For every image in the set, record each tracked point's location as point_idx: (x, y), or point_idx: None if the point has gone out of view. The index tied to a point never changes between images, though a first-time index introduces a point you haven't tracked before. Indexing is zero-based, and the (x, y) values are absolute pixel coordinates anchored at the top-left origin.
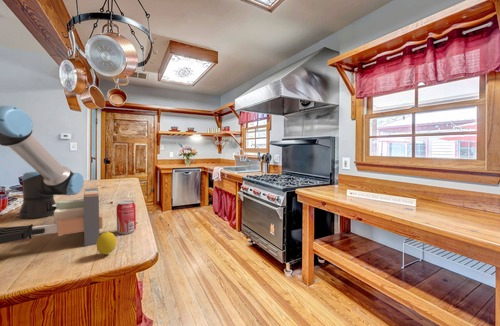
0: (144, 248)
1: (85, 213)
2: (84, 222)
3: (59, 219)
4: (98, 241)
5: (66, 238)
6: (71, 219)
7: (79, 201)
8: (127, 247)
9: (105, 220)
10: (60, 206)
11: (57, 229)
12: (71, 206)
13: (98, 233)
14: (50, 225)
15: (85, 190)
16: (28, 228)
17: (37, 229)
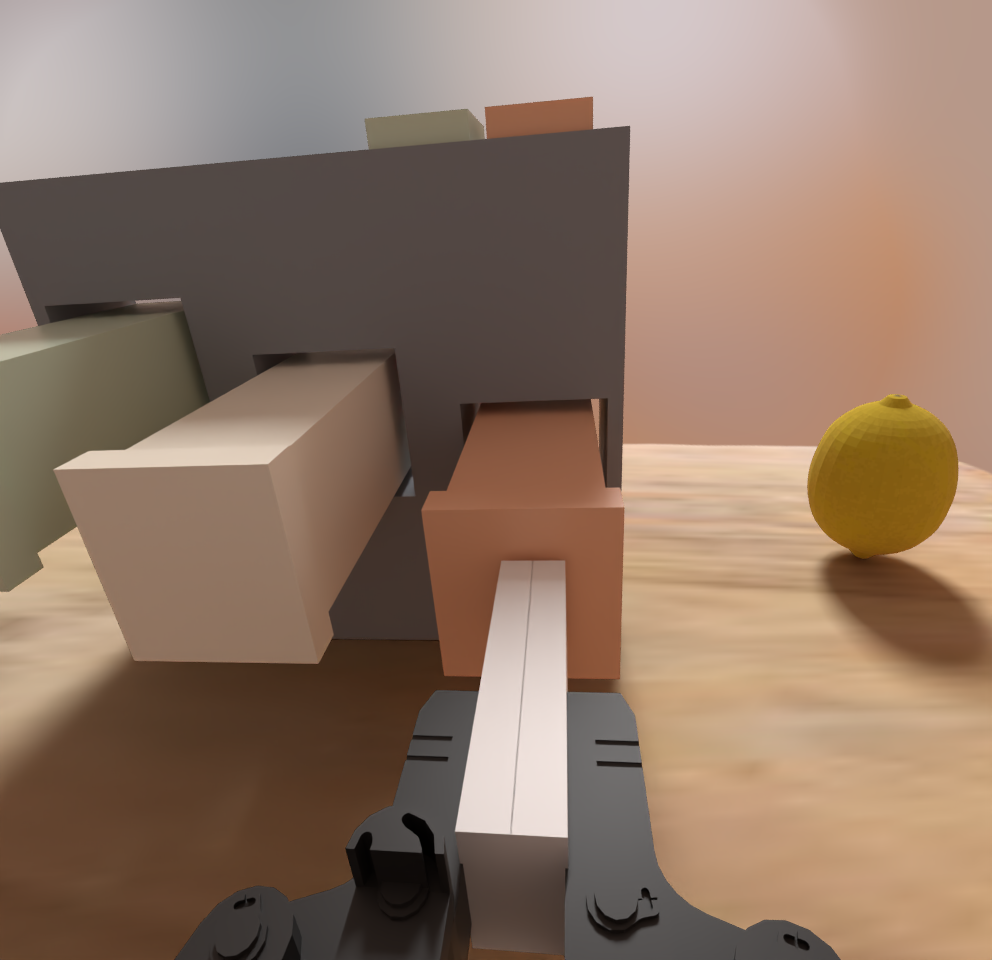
0: (800, 462)
1: (624, 341)
2: (622, 438)
3: (482, 506)
4: (946, 469)
5: (252, 761)
6: (534, 458)
7: (136, 325)
8: (756, 497)
9: (65, 549)
10: None
11: (566, 623)
12: (96, 405)
13: None
14: (564, 611)
15: (125, 172)
16: (449, 944)
17: (606, 775)
